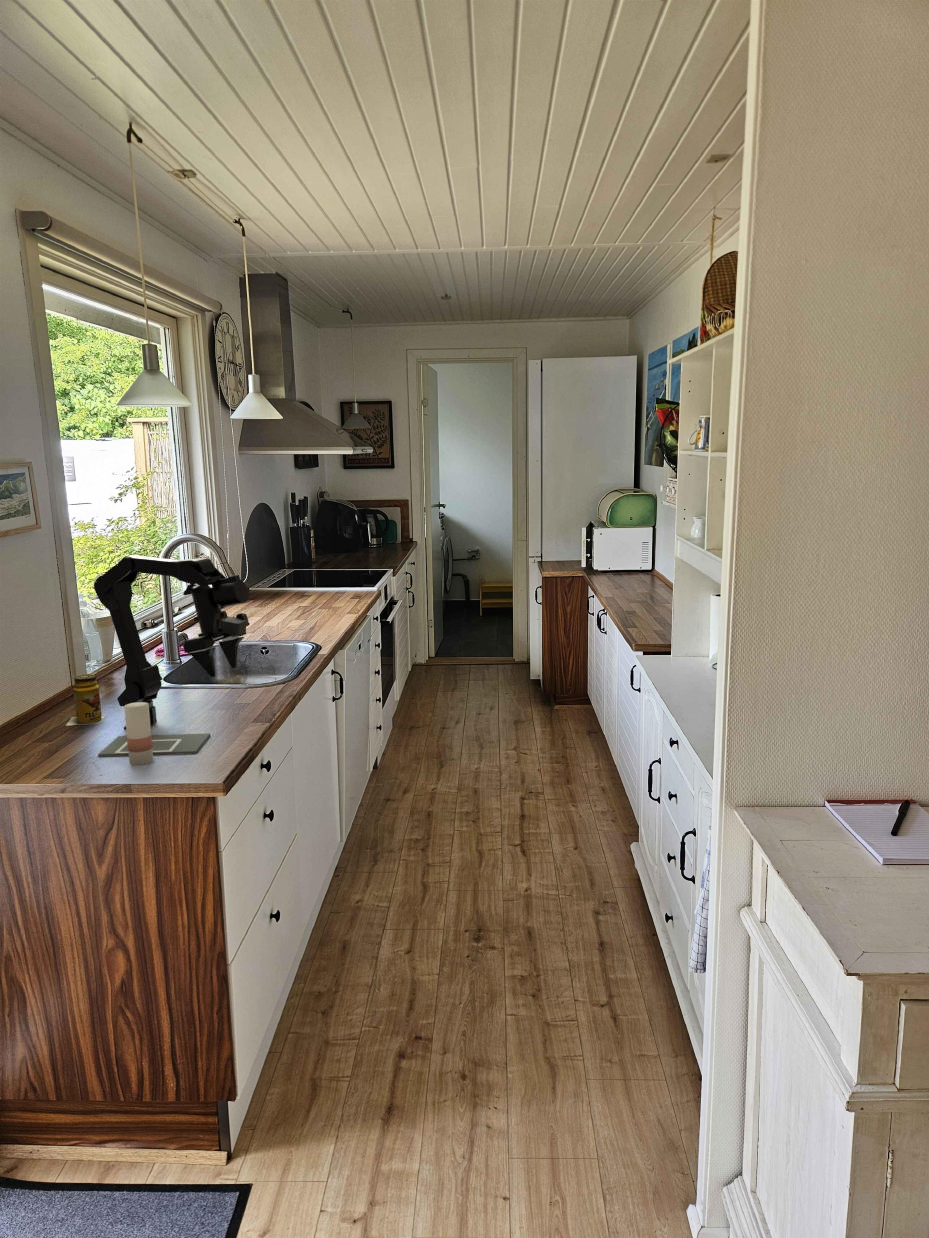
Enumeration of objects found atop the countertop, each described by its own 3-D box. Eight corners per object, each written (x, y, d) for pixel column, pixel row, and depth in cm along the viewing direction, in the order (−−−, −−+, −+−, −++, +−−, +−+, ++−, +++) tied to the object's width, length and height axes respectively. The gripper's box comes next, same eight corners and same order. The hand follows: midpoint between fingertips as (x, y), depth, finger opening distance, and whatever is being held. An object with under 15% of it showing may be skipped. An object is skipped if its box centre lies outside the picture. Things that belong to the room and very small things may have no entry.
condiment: (100, 723, 215) (96, 678, 213) (65, 726, 214) (60, 681, 211) (105, 715, 222) (101, 672, 220) (71, 718, 221) (67, 674, 218)
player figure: (125, 765, 184) (120, 708, 182) (133, 757, 189) (128, 702, 187) (149, 764, 184) (144, 708, 182) (156, 757, 189) (151, 701, 187)
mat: (98, 756, 190) (97, 753, 190) (118, 738, 203) (118, 735, 203) (196, 753, 191) (195, 750, 191) (210, 735, 204) (210, 732, 204)
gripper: (214, 610, 190) (231, 676, 192) (257, 598, 207) (271, 658, 209) (174, 618, 193) (190, 683, 195) (219, 605, 211) (233, 665, 213)
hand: (224, 672), depth 203 cm, fingers open, 9 cm apart
